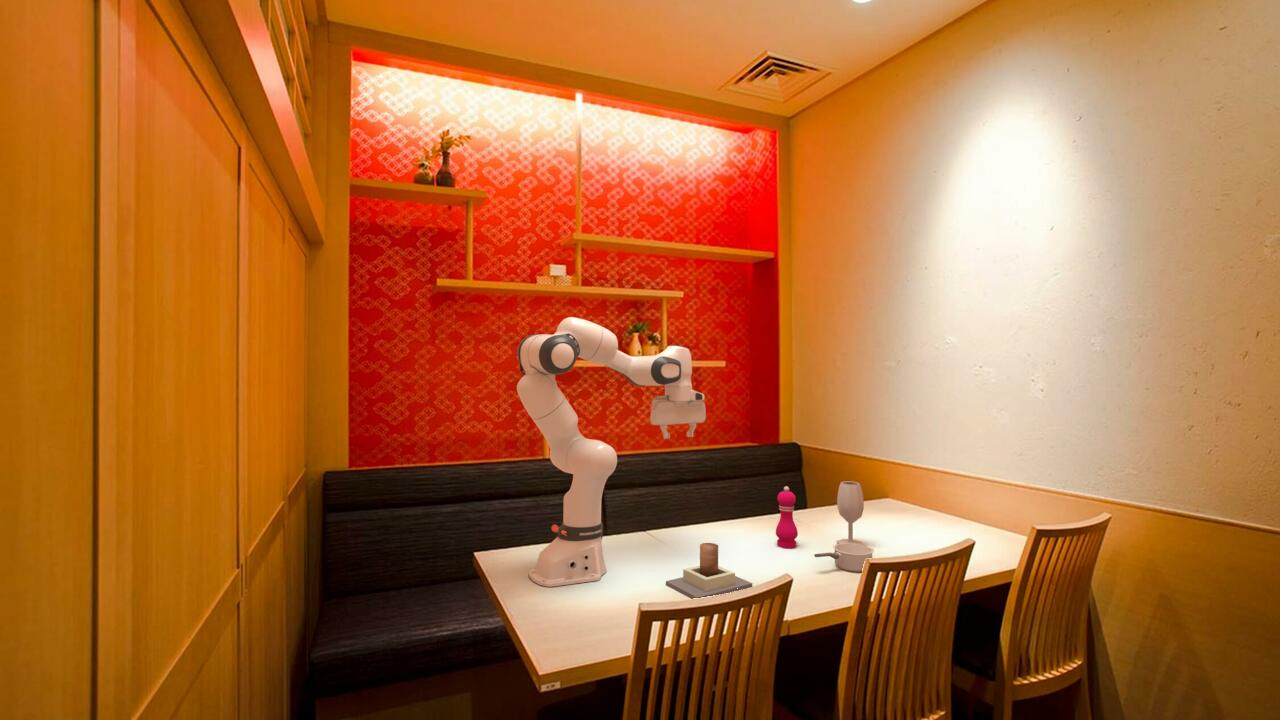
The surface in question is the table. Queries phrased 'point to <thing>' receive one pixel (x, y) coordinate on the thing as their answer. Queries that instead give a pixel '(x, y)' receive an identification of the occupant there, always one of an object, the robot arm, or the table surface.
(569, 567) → the robot arm
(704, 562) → the walnut peg
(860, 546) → the saucepan
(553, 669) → the table surface
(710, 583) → the socket block
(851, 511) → the wineglass
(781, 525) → the pepper mill
